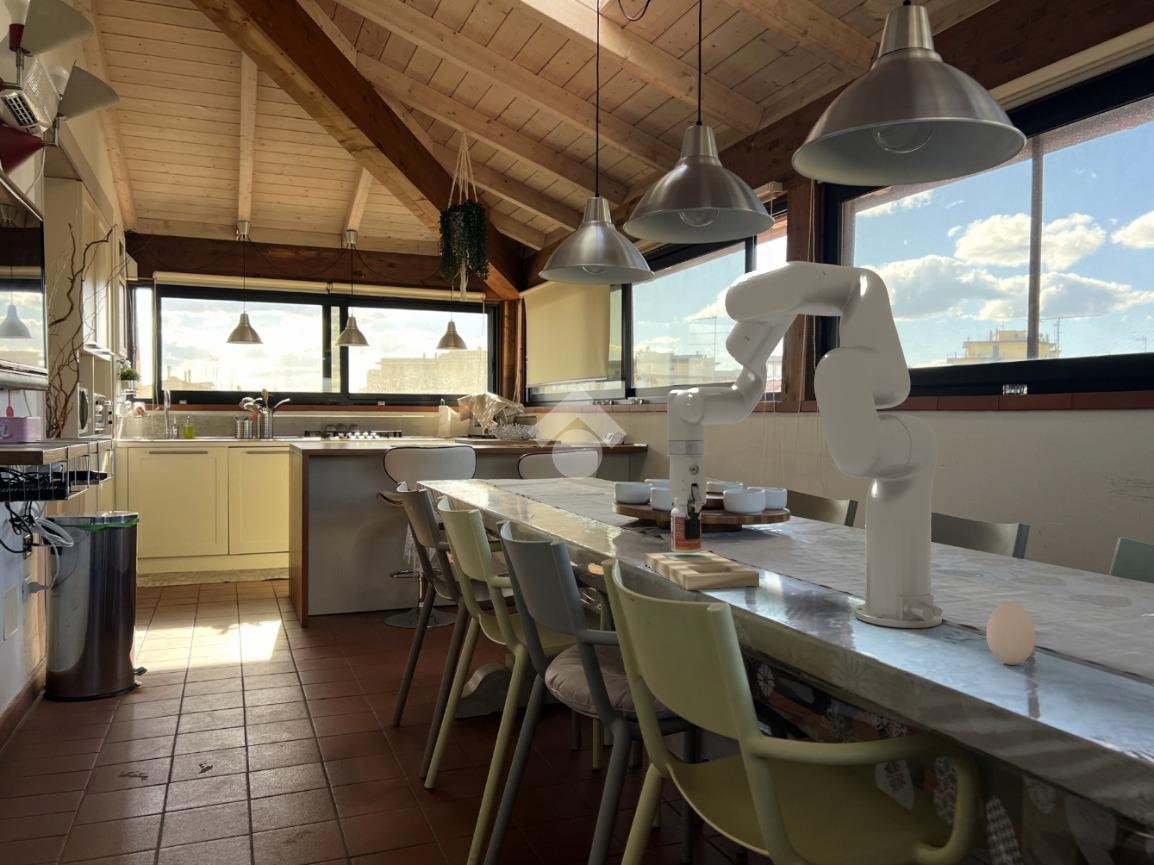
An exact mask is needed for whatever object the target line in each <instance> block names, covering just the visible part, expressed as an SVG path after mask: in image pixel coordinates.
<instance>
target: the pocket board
mask: <svg viewBox="0 0 1154 865" xmlns="http://www.w3.org/2000/svg"><path fill="white" fill-rule="evenodd" d="M643 559H644V561H643V562H644V566H645V565H647V566H648V567H650V568H651V569H650V568H649V569H650V570H652V569H653V570H652V571H653V572H655V571H656V572H655V573H657V574H659V575H660V574H661V576H662V575H663V577H664V578H666V579H668V580H669V581H671V582H672V583H674V584H676V585H678V586H680V587H681V588H683V589H685V590H686V591H699V590H698V589H701V590H711V589H710V588H720V589H725V588H724V587H739V588H747V587H746V586H757V587H759V586H760V573H759V572H758V571H756V570H754V569H751V568H748V567H746V566H743V565H741V564H739V563H736V562H734V561H732V560H729V559H727V558H725V557H722V556H720V555H717V554H715V553H713V552H710V551H708V550H700V551H699V552H696V553H678V552H673V551H671V552H669V551H668V552H651V553H644V558H643ZM647 566H646V567H647ZM648 567H647V568H648ZM744 586H745V587H744Z"/></svg>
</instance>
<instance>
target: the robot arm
mask: <svg viewBox="0 0 1154 865" xmlns="http://www.w3.org/2000/svg"><path fill="white" fill-rule="evenodd" d="M724 306H725V312H726V313H727V315H728V316H729V317H730V318H731V319H732V321H736V323H735V325H734V326H733V328H732V330H731V331H730V333H729V334H728V336H727V337H726V340H725V348H726V350H727V352H728V353H729V356H731V357H732V359H734V360H735V361H736V362H737V363H739V364H740V365H741V366H742V369H741V373H740V374H739V376H738V377H737V379H736V380H735V382H734V383H733V384H732V385H731V387H728V386H698V387H692V388H687V389H686V388H685V389H673V390H671V391H669V392H668V394H667V396H666V412H667V413H666V420H667V421H666V424H667V426H666V427H667V428H666V429H667V430H666V435H667V436H666V439H667V443H666V446H667V449H666V450H667V451H666V452H667V453H666V454H667V457H669V458H670V459H669V460H670V462H669V472H668V473H669V476H668V477H669V478H668V480H669V481H668V484H669V485H668V493H669V495H668V496H669V500H670V501H671V507H672V510H673V509H674V508H675V507H676V505H675V503H674V502H675V498H677V499H678V501H679V503H680V504H681V505H684V507H685V514H686V519H684V538H685V539H699V538H700V518H701V519H702V514H701V515H700V512H701V513H702V508H703V506H705V504H707V486H706V485H707V483H706V482H707V481H706V470H705V463H704V457H705V426H716V425H718V426H719V425H722V426H723V425H727V426H728V425H736V424H739V423H742V422H743V421H745V420H746V419H747V418H748V417H749V416H750V415H751V413H752V412H753V411H754V410H755V409H756V407H757V405H758V404H759V402H760V401H761V399H762V398H763V396H764V393H765V391H766V387H767V379H768V369H767V361H768V359H769V358H770V357H771V355H772V354H773V352H774V350H775V349H776V348H777V346H778V345H779V343H780V342H781V341H782V339H783V337H784V336H785V334H786V333H787V332H788V330H789V328H790V327H791V326H792V325H793V323H794V321H795V320H796V319H797V317H798V315H807V316H823V317H825V316H826V317H840V320H839V325H838V331H839V332H838V334H839V340H840V343H841V345H842V346H840V347H835V348H833V349H831V350H829V351H827V352H826V353H825V354H824V355H823V356H822V357H821V359H820V360H819V362H818V363H817V366H816V369H815V373H814V380H813V388H814V395H815V399H816V403H817V408H818V410H819V415H820V420H821V423H822V428H823V430H824V432H823V433H824V435H825V439H826V443H827V448H828V450H829V454H830V456H831V459H832V460H833V463H834V464H835V466H836V467H837V468H838V470H839V471H840V472H841V473H842V474H845V475H846V476H848V477H851V478H853V479H871V482H870V485H869V487H868V491H867V493H866V499H865V512H864V513H865V518H864V520H865V521H864V522H865V523H864V538H865V539H864V542H865V543H864V546H865V547H864V550H865V552H864V553H865V554H864V555H865V556H864V558H865V559H864V563H865V564H864V565H865V566H864V578H865V579H864V580H865V583H864V586H865V587H864V592H865V593H864V594H865V595H864V597H865V599H864V600H865V601H864V603H862V604H859V605H857V606H855V608H854V616H855V617H856V618H857V619H858V620H860V621H863V622H865V623H869V624H872V625H879V626H884V627H890V628H899V629H901V628H904V629H923V628H931V627H936V626H938V625H940V624H942V622H943V618H942V617H943V609H942V608H941V607H939V606H936V605H934V599H935V598H934V596H935V595H934V594H932V503H933V502H932V498H933V487H934V479H935V472H936V467H937V462H938V459H939V458H938V457H939V443H938V442H939V441H938V437H937V435H936V432H935V431H934V429H933V427H932V426H931V425H930V424H929V423H927V422H926V421H925V420H924V419H921V417H918V416H914V415H909V414H903V413H901V414H898V413H897V414H896V413H893V414H891V413H889V414H888V413H887V414H878V411H877V409H878V410H880V409H881V410H883V409H890V408H895V407H896V406H899V405H901V404H903V403H904V401H905V400H907V398H908V396H909V394H910V393H911V378H910V373H909V368H908V365H907V362H906V357H905V354H904V352H903V347H902V345H901V344H902V343H901V341H900V338H899V337H900V336H899V333H898V331H897V327H896V325H895V320H894V316H893V312H892V307H891V301H890V295H889V292H888V288H887V286H886V284H885V282H884V279H882V277H881V276H880V275H879V274H878V273H876V272H875V271H873V270H871V269H868V268H865V267H855V266H848V265H847V266H846V265H837V264H829V263H819V262H818V263H817V262H810V261H803V260H790V261H786V262H785V261H784V262H781V263H777V264H774V265H771V266H768V267H763V268H761V269H757V270H754V271H750V272H747V273H745V274H742V275H740V276H739V277H737V278H736V279H735V280H734V281H733V282H732V283H731V285H730V286H729V288H728V289H727V293H726V295H725V300H724ZM689 502H694V503H692V504H688V503H689ZM689 508H691V510H690V511H689Z"/></svg>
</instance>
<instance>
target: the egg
mask: <svg viewBox="0 0 1154 865" xmlns="http://www.w3.org/2000/svg"><path fill="white" fill-rule="evenodd" d="M986 642H987V645H988V647H989V649H990V652H991V653H992V655H994V657H995V658H996V659H997V660H999V661H1000V662H1001V663H1003V664H1004V665H1005V664H1006V665H1009V666H1010V665H1011V666H1016V665H1019V664H1022V663H1023V662H1025V661H1026V660H1027V659H1028V658H1029V657H1030V656H1031V654H1032V653H1033V651H1034V649H1035V644H1036V633H1035V626H1034V624H1033V621H1032V619H1031V616H1030V615H1029V614H1028V612H1027V610H1026V609H1025V608H1023V607H1022V606H1021V605H1019V603H1017V602H1014V601H1005V602H1003V603H1000V604H999V605H998V606H996V608H995V609H994V610H993V611H992V613H991V614H990V616H989V618H988V620H987V625H986Z"/></svg>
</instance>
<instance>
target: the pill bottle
mask: <svg viewBox="0 0 1154 865" xmlns="http://www.w3.org/2000/svg"><path fill="white" fill-rule="evenodd" d="M674 503H675V505H676V507H675V508H674V509H673V508H672V509H671V511H670V549H671V552H678V553H696V552H699V551H702V517H701V518H700V538H699V539H685V538H684V519H686V514H685V507H684V505H681V504H680V503H679V501H678V499H677V498H675V502H674ZM692 503H694V502H689V503H688V504H692ZM690 510H691V508H689V511H690ZM700 515H701V516H702V511H701V512H700Z"/></svg>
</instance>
